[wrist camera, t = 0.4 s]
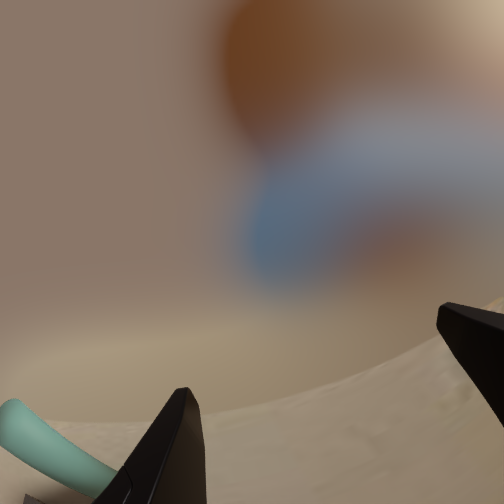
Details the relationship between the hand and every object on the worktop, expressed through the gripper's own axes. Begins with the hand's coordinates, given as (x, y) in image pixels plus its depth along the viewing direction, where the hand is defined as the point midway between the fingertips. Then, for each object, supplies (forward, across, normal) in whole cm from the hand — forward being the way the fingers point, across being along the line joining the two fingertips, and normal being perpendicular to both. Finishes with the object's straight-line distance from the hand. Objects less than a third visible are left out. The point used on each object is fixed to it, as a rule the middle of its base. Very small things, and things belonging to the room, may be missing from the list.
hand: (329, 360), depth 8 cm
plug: (+4, +19, +16) cm, 25 cm away
